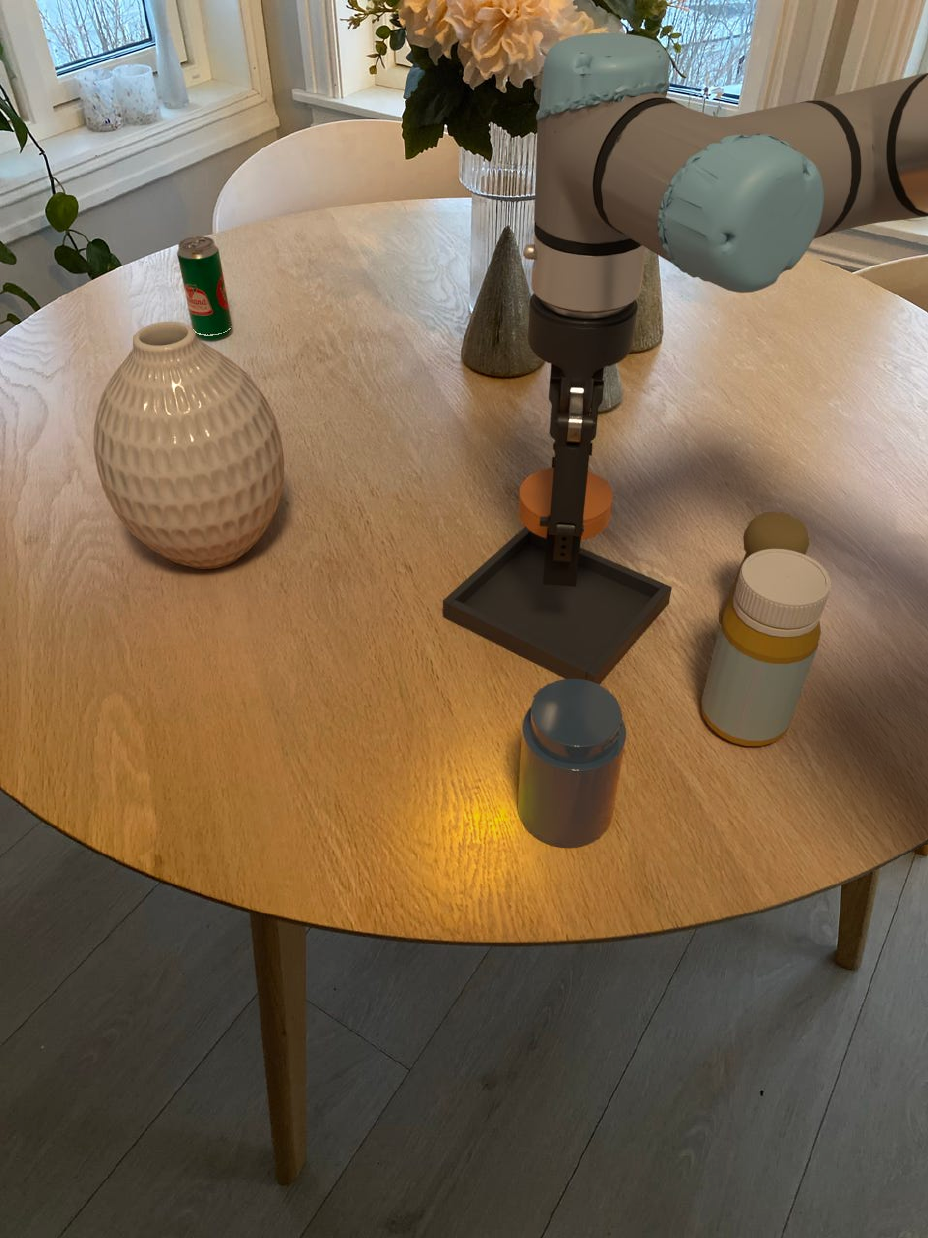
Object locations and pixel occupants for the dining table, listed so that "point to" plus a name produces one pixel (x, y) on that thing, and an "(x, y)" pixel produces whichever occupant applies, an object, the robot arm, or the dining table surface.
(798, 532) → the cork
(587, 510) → the lid
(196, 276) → the soda can
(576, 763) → the jar
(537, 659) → the tray
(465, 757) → the dining table surface
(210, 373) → the vase
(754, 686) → the bottle
